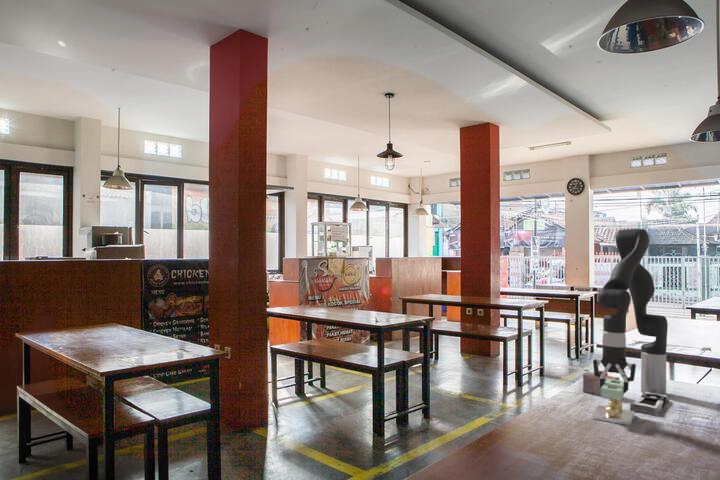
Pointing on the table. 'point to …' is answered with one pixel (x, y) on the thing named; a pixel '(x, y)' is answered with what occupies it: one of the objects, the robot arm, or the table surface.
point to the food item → (594, 382)
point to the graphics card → (650, 403)
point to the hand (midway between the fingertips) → (614, 390)
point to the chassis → (614, 413)
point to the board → (613, 389)
